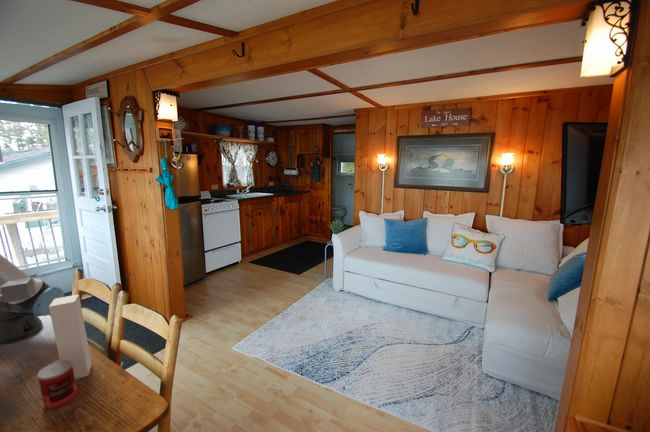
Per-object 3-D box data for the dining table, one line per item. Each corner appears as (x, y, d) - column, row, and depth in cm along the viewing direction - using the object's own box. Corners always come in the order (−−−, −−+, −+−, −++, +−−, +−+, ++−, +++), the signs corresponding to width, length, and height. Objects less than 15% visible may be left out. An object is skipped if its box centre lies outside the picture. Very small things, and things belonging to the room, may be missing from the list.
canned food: (60, 389, 92) (54, 359, 90) (84, 389, 92) (78, 360, 90) (36, 409, 85) (29, 377, 82) (62, 410, 84) (55, 378, 82)
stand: (69, 371, 100) (54, 298, 94) (91, 364, 103) (78, 294, 97) (64, 382, 95) (48, 306, 89) (88, 375, 98) (74, 301, 92)
